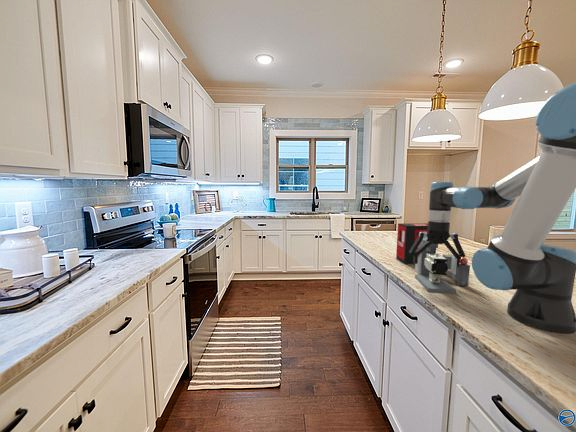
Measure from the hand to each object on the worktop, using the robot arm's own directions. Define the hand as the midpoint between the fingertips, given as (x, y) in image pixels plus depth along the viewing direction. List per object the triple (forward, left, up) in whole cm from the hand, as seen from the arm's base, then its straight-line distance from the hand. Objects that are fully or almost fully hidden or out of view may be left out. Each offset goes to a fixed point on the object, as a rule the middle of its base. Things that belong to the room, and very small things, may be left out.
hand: (434, 272), depth 104 cm
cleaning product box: (+34, -3, -6) cm, 35 cm away
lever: (+10, -11, -5) cm, 16 cm away
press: (+4, -4, -5) cm, 8 cm away
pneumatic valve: (0, 0, -4) cm, 4 cm away
